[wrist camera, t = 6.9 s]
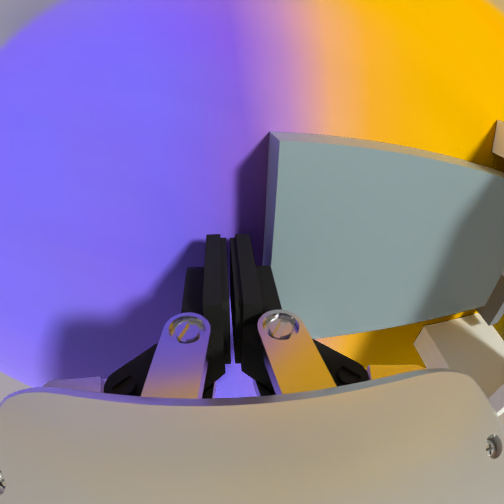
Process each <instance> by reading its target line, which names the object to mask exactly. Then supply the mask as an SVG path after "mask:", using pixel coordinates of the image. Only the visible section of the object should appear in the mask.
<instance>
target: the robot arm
mask: <svg viewBox="0 0 504 504" xmlns="http://www.w3.org/2000/svg"><path fill="white" fill-rule="evenodd" d="M230 298H231V313H232V327H233V340H234V353H235V363H241V368H242V371H244V373H245V374H247V375H248V376H250V377H251V378H253V385H254V388H255V391H256V394H257V397H242V398H215V391H216V381H217V380H218V379H219V378H220V377H221V376H222V375H223V374H225V364H231V354H230V308H229V288H228V270H227V251H226V238H220V234H212V235H207V236H206V251H205V267H188V268H187V272H186V279H185V287H184V295H183V303H182V311H181V314H177V315H175V316H173V317H171V318H170V319H169V320H168V321H167V322H166V324H165V326H164V328H163V331H162V334H161V337H160V339H159V342H158V343H157V344H155V345H154V346H152V347H151V348H149V349H148V350H146V351H145V352H143V353H142V354H140V355H139V356H137V357H136V358H134V359H133V360H131V361H130V362H129V363H127V364H126V365H124V366H123V367H121V368H120V369H118V370H117V371H115V372H114V373H112V374H111V375H110V376H109V377H108V378H107V379H102V378H101V376H97V377H87V378H75V379H60V380H52V381H49V382H47V383H46V384H45V385H44V386H43V387H36V388H29V389H24V390H20V391H17V392H14V393H12V394H10V395H8V396H7V397H5V398H4V399H3V401H2V402H1V403H0V504H504V428H503V426H502V424H501V422H500V420H499V418H498V416H497V414H496V412H495V410H494V408H493V406H492V404H491V402H490V400H489V399H488V397H487V395H486V394H485V392H484V391H483V389H482V388H481V386H480V385H479V384H478V382H477V381H476V380H475V379H474V378H473V377H472V376H471V375H469V374H467V373H465V372H462V371H459V370H454V369H445V368H431V369H425V368H424V367H422V366H420V365H414V364H410V365H369V366H368V367H363V366H362V365H360V364H359V363H358V362H356V361H354V360H352V359H350V358H348V357H346V356H344V355H342V354H340V353H338V352H336V351H335V350H333V349H331V348H329V347H327V346H325V345H323V344H321V343H320V342H318V341H316V340H314V339H312V338H311V336H310V334H309V332H308V331H307V329H306V327H305V325H304V323H303V321H302V320H301V319H300V317H299V316H297V315H296V314H294V313H292V312H290V311H287V310H282V307H281V303H280V299H279V296H278V292H277V288H276V284H275V281H274V277H273V273H272V269H271V266H256V265H255V260H254V255H253V250H252V245H251V240H250V235H249V234H235V238H230ZM214 398H215V399H214Z"/></svg>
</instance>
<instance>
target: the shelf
mask: <svg viewBox="0 0 504 504" xmlns="http://www.w3.org/2000/svg"><path fill="white" fill-rule="evenodd" d="M492 152H493V153H495V154H497V155H499V156H501V157H503V158H504V122H503V121H500V120H497V126H496V133H495V138H494V144H493V149H492ZM475 309H476V310H477V311H478V313H476V314H473V315H469V316H465V317H461V318H457V319H453V320H449V321H445V322H441V323H436V324H432V325H427V326H424V327H423V329H422V330H421V332H420V334H419V335H418V337H417V339H416V340H415V342H414V343H413V345H414V346H415V348H416V350H417V352H418V353H419V355H420V357H421V359H422V361H423V362H424V364H425V366H426V368H427V369H431V368H445V369H454V370H459V371H462V372H465V373H467V374H469V375H471V376H472V377H473V378H474V379H475V380H476V381H477V382H478V384H479V385H480V386H481V388H482V389H483V391H484V392H485V394H486V395H487V397H488V399H489V400H490V402H491V404H492V406H493V408H494V410H495V412H496V414H497V416H499V415H501V414H502V413H503V412H504V341H503V339H502V338H501V337H500V335H499V334H498V332H497V331H496V330H495V328H494V327H493V326H492V325H493V324H496V323H498V321H499V320H500V318H501V317H502V315H503V313H504V270H503V272H502V274H501V276H500V278H499V280H498V282H497V284H496V286H495V288H494V290H493V292H492V294H491V295H490V297H489V299H488V301H487V303H486V304H485V306H482V307H478V308H475Z"/></svg>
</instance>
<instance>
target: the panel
mask: <svg viewBox="0 0 504 504" xmlns="http://www.w3.org/2000/svg"><path fill="white" fill-rule="evenodd" d="M262 266H271V269H272V273H273V277H274V281H275V284H276V288H277V292H278V296H279V299H280V303H281V307H282V310H287V311H290V312H292V313H294V314H296V315H297V316H299V317H300V319H301V320H302V321H303V323H304V325H305V327H306V329H307V331H308V332H309V334H310V336H311V338H312V339H317V338H325V337H333V336H341V335H348V334H355V333H361V332H368V331H374V330H380V329H386V328H391V327H397V326H402V325H407V324H412V323H417V322H421V321H426V320H431V319H435V318H439V317H444V316H448V315H452V314H456V313H460V312H464V311H467V310H471V309H475V308H478V307H482V306H485V304H486V303H487V301H488V299H489V297H490V295H491V294H492V292H493V290H494V288H495V286H496V284H497V282H498V280H499V278H500V276H501V274H502V272H503V270H504V172H501V171H498V170H495V169H492V168H489V167H486V166H483V165H479V164H476V163H473V162H469V161H466V160H462V159H458V158H455V157H451V156H447V155H443V154H439V153H434V152H430V151H425V150H421V149H416V148H411V147H406V146H401V145H395V144H389V143H383V142H377V141H371V140H364V139H356V138H348V137H339V136H330V135H319V134H307V133H291V132H269V153H268V173H267V192H266V211H265V229H264V246H263V263H262Z"/></svg>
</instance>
